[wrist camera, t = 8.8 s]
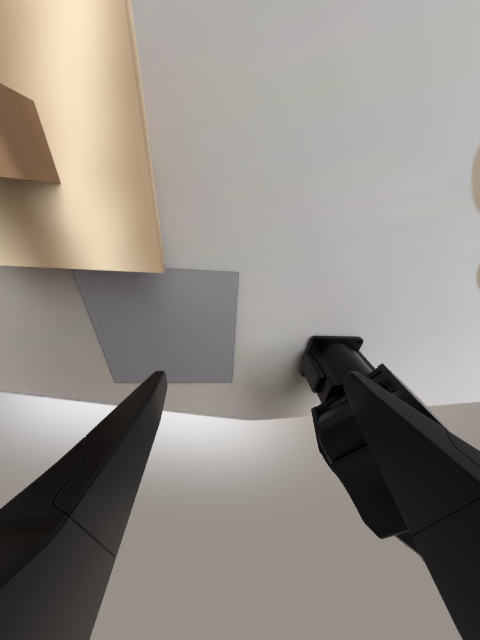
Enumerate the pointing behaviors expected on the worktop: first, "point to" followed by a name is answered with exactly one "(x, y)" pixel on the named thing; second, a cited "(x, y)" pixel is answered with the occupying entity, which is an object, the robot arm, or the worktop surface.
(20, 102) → the lid
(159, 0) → the worktop surface
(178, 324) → the mat
